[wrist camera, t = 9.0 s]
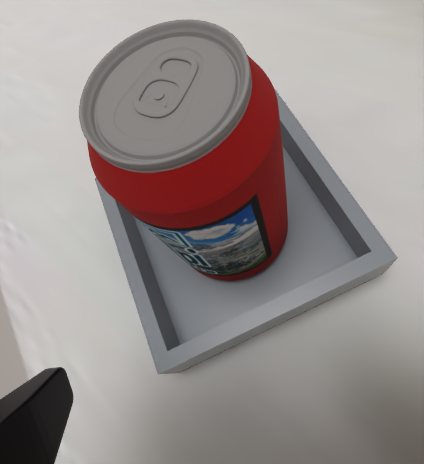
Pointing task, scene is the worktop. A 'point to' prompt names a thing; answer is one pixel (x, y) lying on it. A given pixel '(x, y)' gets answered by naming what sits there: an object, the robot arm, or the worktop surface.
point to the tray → (263, 283)
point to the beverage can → (191, 145)
